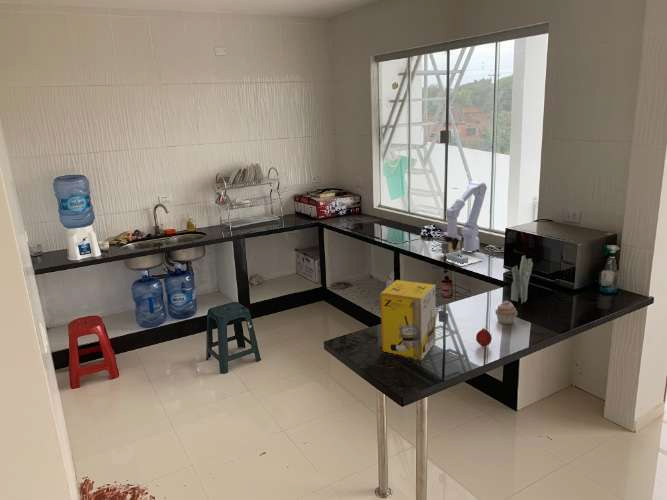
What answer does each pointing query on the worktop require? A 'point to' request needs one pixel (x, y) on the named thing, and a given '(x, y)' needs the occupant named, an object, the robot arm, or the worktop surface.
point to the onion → (483, 337)
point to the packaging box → (408, 318)
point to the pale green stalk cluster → (521, 280)
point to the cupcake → (506, 313)
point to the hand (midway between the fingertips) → (452, 248)
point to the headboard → (460, 258)
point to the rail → (450, 247)
